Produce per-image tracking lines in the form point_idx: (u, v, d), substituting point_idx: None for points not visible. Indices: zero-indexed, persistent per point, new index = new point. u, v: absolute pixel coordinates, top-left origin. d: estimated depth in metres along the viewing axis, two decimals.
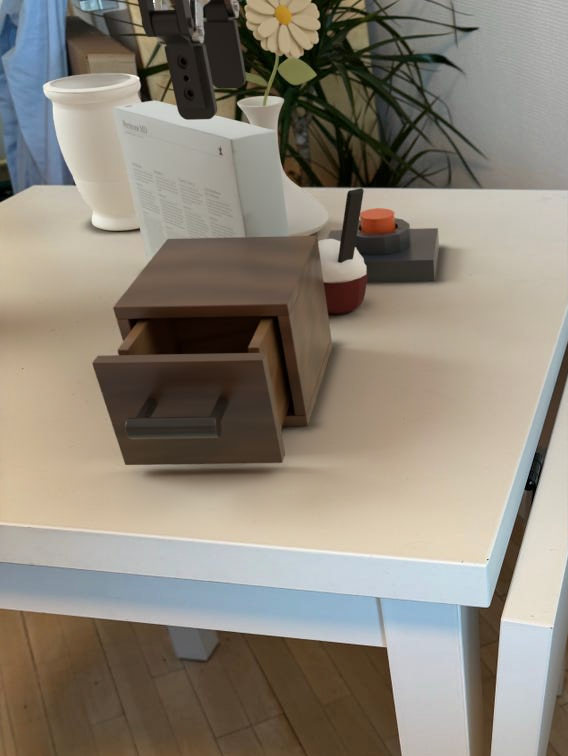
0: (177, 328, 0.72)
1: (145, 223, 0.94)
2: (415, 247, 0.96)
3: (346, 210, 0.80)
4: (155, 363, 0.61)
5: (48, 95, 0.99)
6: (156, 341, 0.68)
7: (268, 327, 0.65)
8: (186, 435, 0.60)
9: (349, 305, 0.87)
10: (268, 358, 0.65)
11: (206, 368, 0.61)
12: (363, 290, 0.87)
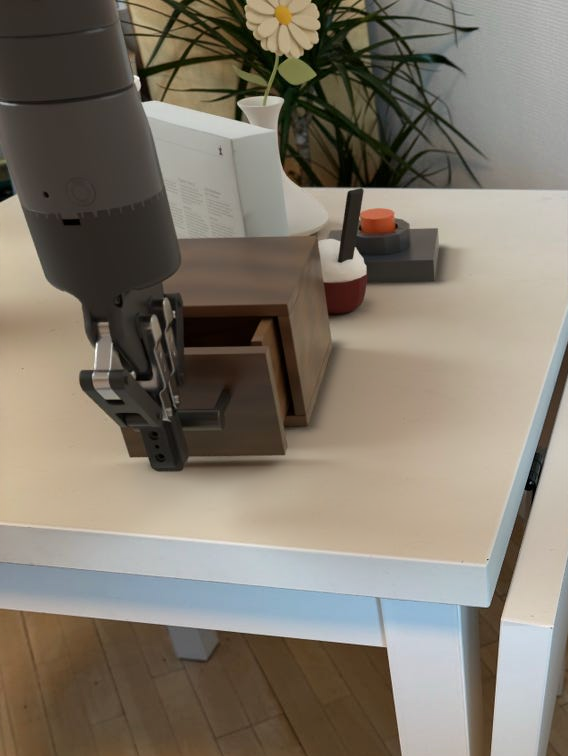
0: None
1: None
2: (415, 247, 0.96)
3: (346, 210, 0.80)
4: None
5: None
6: None
7: (271, 321, 0.66)
8: (190, 427, 0.60)
9: (349, 305, 0.87)
10: (271, 352, 0.66)
11: (210, 361, 0.62)
12: (363, 290, 0.87)
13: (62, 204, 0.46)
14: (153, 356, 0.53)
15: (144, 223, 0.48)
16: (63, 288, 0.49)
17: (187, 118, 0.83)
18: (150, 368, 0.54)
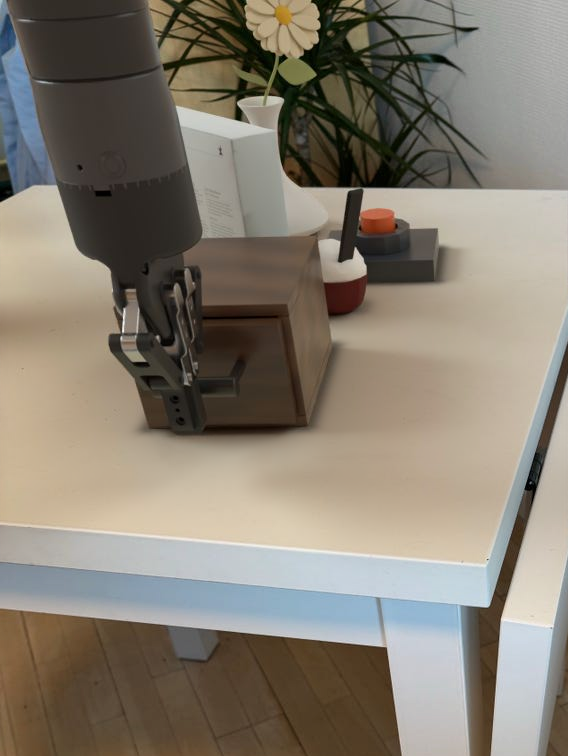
0: None
1: None
2: (415, 247, 0.96)
3: (346, 210, 0.80)
4: None
5: None
6: None
7: None
8: (207, 393, 0.64)
9: (349, 305, 0.87)
10: None
11: (225, 332, 0.65)
12: (363, 290, 0.87)
13: (95, 176, 0.49)
14: (176, 322, 0.57)
15: (169, 195, 0.52)
16: (93, 256, 0.53)
17: (187, 118, 0.83)
18: (172, 334, 0.58)
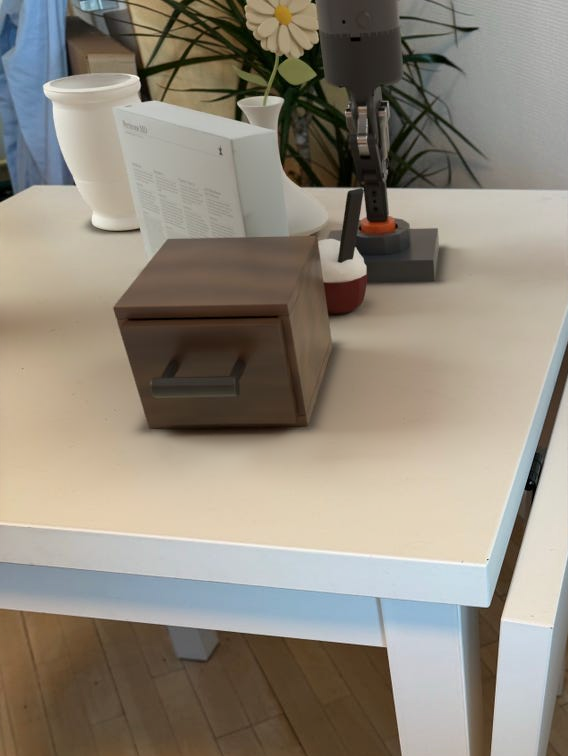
0: None
1: (145, 223, 0.94)
2: (415, 247, 0.96)
3: (346, 210, 0.80)
4: (178, 327, 0.65)
5: (48, 95, 0.99)
6: None
7: None
8: (207, 393, 0.64)
9: (349, 305, 0.87)
10: None
11: (225, 332, 0.65)
12: (363, 290, 0.87)
13: (352, 27, 0.81)
14: (383, 134, 0.88)
15: (391, 43, 0.83)
16: (341, 84, 0.84)
17: (187, 118, 0.83)
18: (379, 144, 0.89)
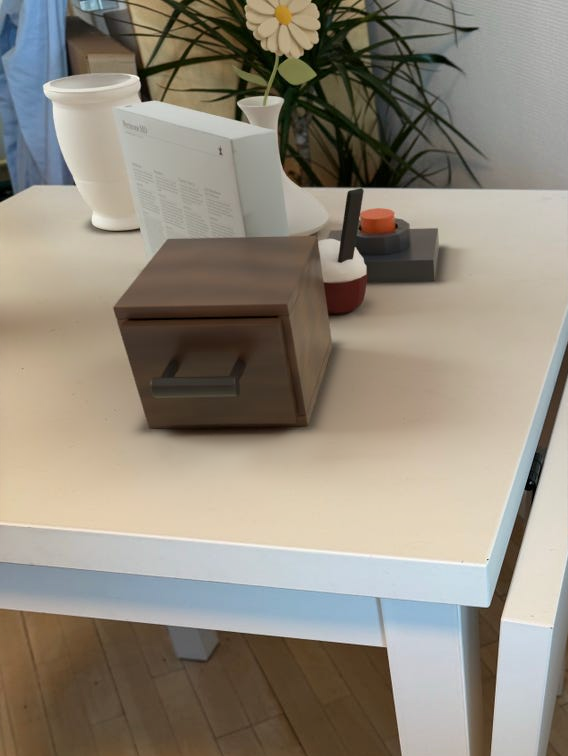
0: None
1: (145, 223, 0.94)
2: (415, 247, 0.96)
3: (346, 210, 0.80)
4: (178, 327, 0.65)
5: (48, 95, 0.99)
6: None
7: None
8: (207, 393, 0.64)
9: (349, 305, 0.87)
10: None
11: (225, 332, 0.65)
12: (363, 290, 0.87)
13: None
14: None
15: None
16: None
17: (187, 118, 0.83)
18: None
